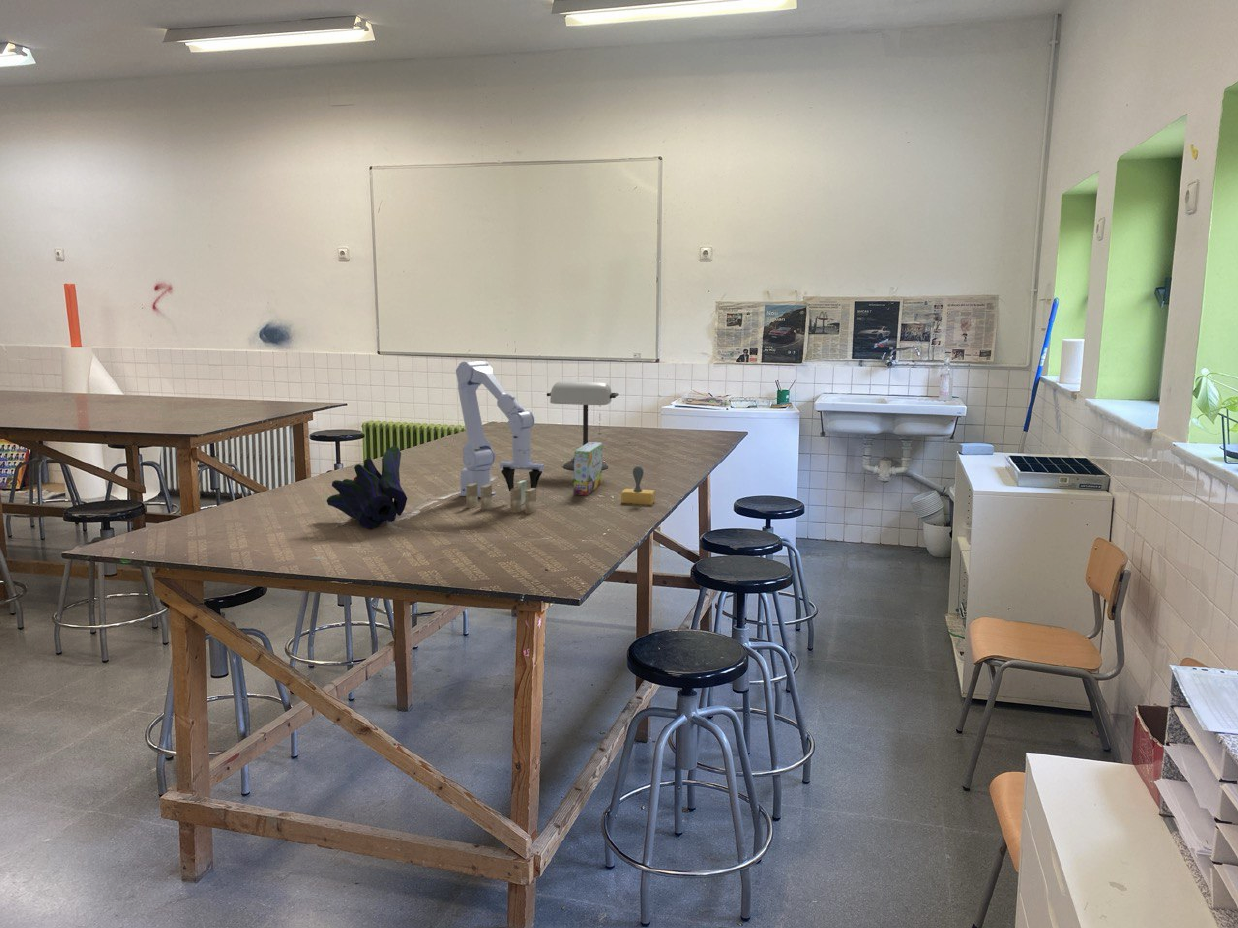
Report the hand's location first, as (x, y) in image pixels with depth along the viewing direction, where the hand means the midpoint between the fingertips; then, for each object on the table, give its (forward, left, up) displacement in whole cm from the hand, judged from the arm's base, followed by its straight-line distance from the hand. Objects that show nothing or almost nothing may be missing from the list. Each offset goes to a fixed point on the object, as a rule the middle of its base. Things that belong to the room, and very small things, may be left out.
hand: (522, 491), depth 284 cm
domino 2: (-8, -10, -4) cm, 13 cm away
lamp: (-3, +64, -4) cm, 64 cm away
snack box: (+12, +28, -4) cm, 31 cm away
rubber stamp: (+34, +15, -4) cm, 37 cm away
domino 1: (-13, -10, -4) cm, 17 cm away
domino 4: (0, 0, -4) cm, 4 cm away
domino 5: (+7, -10, -4) cm, 13 cm away
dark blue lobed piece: (-32, -36, -4) cm, 48 cm away
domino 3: (+2, -10, -4) cm, 11 cm away
